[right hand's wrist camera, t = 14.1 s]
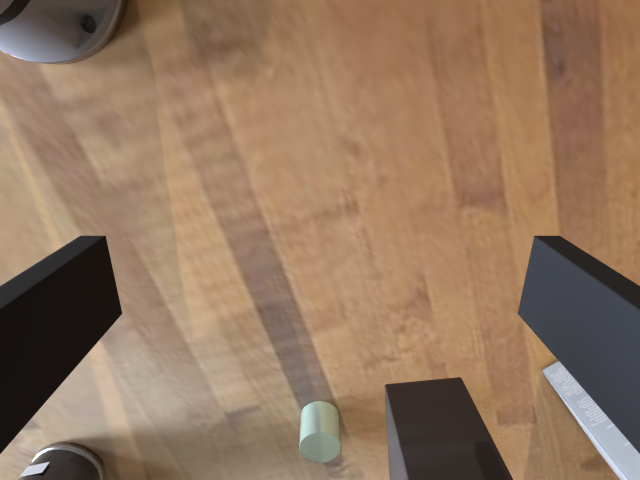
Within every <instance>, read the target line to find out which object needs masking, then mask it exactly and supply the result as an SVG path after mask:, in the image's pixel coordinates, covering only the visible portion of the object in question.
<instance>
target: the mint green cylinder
mask: <svg viewBox="0 0 640 480" xmlns="http://www.w3.org/2000/svg"><path fill="white" fill-rule="evenodd" d="M299 450H300V453H301V454H302V456H303V457H304V458H306V459H307V460H309V461H312V462H316V463H324V462H328V461H331V460H333V459H334V458H336V457H337V456H338V454H339V452H340V450H341V443H340V426H339V413H338V410H337V408H336V407H335V406H334V405H332V404H331V403H328V402H325V401H315V402H311V403H309V404H308V405H306V406H305V407H304V408H303V410H302V412H301V425H300V443H299Z"/></svg>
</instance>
